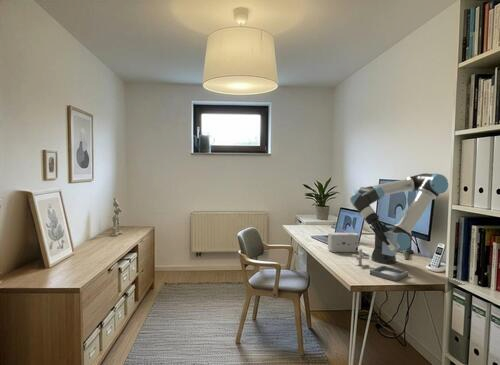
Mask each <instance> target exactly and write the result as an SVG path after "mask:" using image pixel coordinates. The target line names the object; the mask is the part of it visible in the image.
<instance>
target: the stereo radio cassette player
mask: <svg viewBox="0 0 500 365" xmlns="http://www.w3.org/2000/svg"><path fill="white" fill-rule="evenodd" d="M333 226H335V227H337V228H338V229H340V230H342V231H343V232H328V233H327V249H328V250H329V252H331V253H358V252H359V240H360V234H359V233H357V232H348V231H347V230H345V229H343V228H340V227H339V226H337V225H335V224H333Z"/></svg>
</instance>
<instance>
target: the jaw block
mask: <svg viewBox="0 0 500 365" xmlns="http://www.w3.org/2000/svg"><path fill="white" fill-rule="evenodd" d="M384 235H385V236H386V238H387V239H389V241H390V242H391V243H392V244H393V246H394V247H395V249H394V250H393V251H391V250H390V249H389V247H388V246H387V245H386V244H385V242H384V241H383V242H382V254H385V255H389V256H394V255H395V256H397V252H398V251H397V233H393V231H387V232H384Z"/></svg>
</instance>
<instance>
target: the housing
mask: <svg viewBox="0 0 500 365" xmlns="http://www.w3.org/2000/svg"><path fill="white" fill-rule="evenodd" d="M369 275H371V276H375V277H378V278H382V279H385V280H388V281H392V282H399V281H400V280H403V279H405V278H408V277H409V271H406V270H403V269H399V268H396V267H390V266H388V265H387V266H386V265H380V266H378V267H374V268H371V269H370V270H369Z"/></svg>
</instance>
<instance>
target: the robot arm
mask: <svg viewBox="0 0 500 365" xmlns="http://www.w3.org/2000/svg"><path fill="white" fill-rule="evenodd" d="M448 188H449V182H448V179H447V177H446V176H445V175H443V174H440V173H428V172H427V173H419V174H416V175H412V176H407V177H406V178H404V179H402V180H396V181H391V182H385V183H380V184H376V185H375V184H374V185H371V186H370V185H369V186H362V187H361V186H360V187H358V188H357V189H356V192H355V193H353V195H351V197H350V198H349V201H350V203H351V204H352V206H353V207H354V208H355V209H356V210H357V212H358V213H359V214H360V216H361V217H362V218H363V219H364V220H365V222H366V223H367V224H368V225H369V228H370V229H371V230H372V232H373V234H374V247H373V252H372V254H371V257H370V259H371V260H372V261H374V262H376V263H382V264H395V263H397V257H396V256H397V255H394V256H389V255H385V254H382V242H383V241H384V242H385V244H386V245H387V246H388V247H389V249H390V250H391V251H393V250H394V249H395V247H394V246H393V244H392V243H391V242H390V241H389V239H387V238H386V236H385V235H384V232H387V231H393V233H397V252H404V251H407V250H408V249H409V248H410V246H411V243H412V242H411V238H412V230H413V229H414V228H415V227H416V224H418V222H419V220H420V219H421V217H422V216H423V214H424V213H425V211H426V210H427V208H428V207H429V205H430V204H431V202H432V201H433V200H436V199H437V198H438V197H439V195H440V194H444V193H445V192H446V191H447V190H448ZM407 191H409V192H417V191H418V193H417V195H416V196H415V197H414V199H413V200H412V202H411V203H410V205H409V206H408V207H407V209H406V211H405V212H404V214H403V215H402V217H401V218H400V220H399V221H398V223H396V224H393V225H386V224H385V222H381V221H380V220H379V219H380V216H379V215H378V214H377V212H376V211H375V210H374V209H373V207H372V206H371V204H373V203H375V202H377V201H379V200H381V199H383V198H384V197H385V196H388V195H393V194H398V193H403V192H407Z"/></svg>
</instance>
